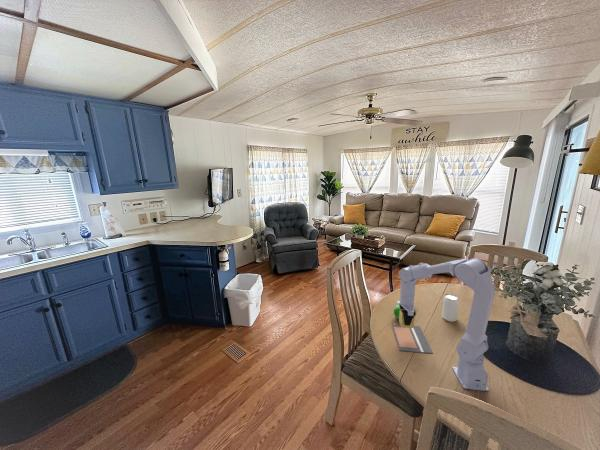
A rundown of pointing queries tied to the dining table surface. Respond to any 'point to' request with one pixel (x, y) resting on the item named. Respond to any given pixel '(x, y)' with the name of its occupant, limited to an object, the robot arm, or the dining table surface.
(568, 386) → the dining table surface
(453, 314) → the can
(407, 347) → the mat
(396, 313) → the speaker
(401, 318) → the block
